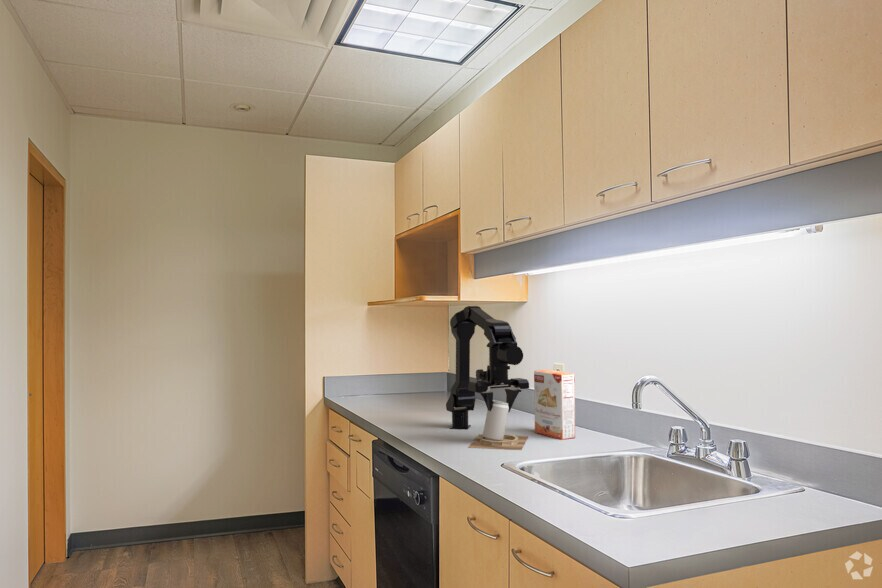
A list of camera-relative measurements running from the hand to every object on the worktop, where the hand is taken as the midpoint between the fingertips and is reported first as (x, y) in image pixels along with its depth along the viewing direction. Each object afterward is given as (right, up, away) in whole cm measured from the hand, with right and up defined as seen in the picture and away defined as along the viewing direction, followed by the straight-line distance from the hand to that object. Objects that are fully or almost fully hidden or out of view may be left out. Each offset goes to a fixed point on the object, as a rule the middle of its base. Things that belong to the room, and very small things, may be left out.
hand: (499, 412), depth 201 cm
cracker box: (+19, -10, +10) cm, 23 cm away
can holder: (0, -9, 0) cm, 9 cm away
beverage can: (-2, -8, 0) cm, 9 cm away
